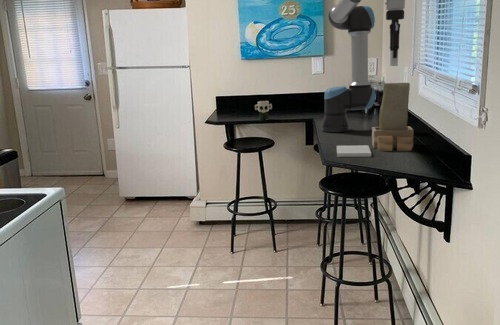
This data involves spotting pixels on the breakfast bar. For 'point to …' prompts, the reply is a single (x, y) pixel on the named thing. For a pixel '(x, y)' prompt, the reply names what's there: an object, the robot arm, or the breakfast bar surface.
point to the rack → (393, 133)
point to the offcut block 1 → (385, 143)
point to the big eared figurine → (263, 109)
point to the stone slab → (394, 106)
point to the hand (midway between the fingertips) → (393, 65)
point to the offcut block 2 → (403, 143)
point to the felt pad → (353, 151)
